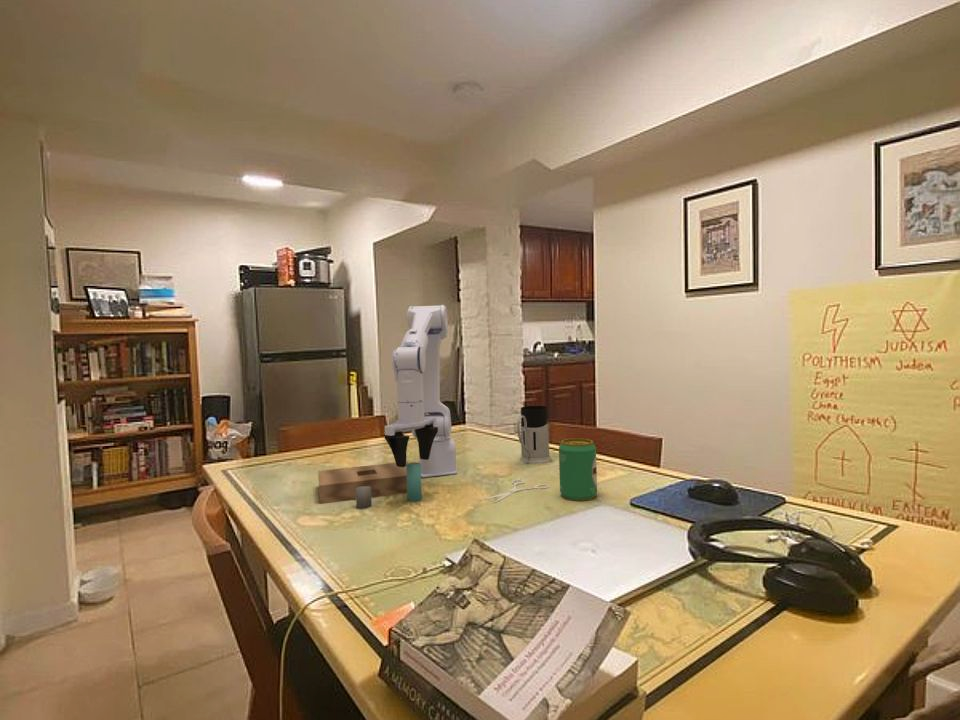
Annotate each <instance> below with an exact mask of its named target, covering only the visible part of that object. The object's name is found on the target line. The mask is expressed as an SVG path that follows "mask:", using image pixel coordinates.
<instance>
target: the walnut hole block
mask: <svg viewBox="0 0 960 720" xmlns="http://www.w3.org/2000/svg"><path fill="white" fill-rule="evenodd" d="M407 463H409V462H408V461H406V464H407ZM317 475H318V478H317V479H318V494H319V504H327V503H335V502H342V501H351V500H356V488H357V487H361V486H370V487H371V498H374V497H375V498H376V497H383V496H384V497H385V496H392V495H393V496H394V495H400V494H407V477H406V467H397V465H396V462H390V463H382V464H370V465H361V466H353V467H344V468H334V469H324V470H318V473H317Z"/></svg>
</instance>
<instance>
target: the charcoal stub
mask: <svg viewBox="0 0 960 720" xmlns="http://www.w3.org/2000/svg"><path fill="white" fill-rule="evenodd" d="M355 503H356V504H355V505H356V509H359V510H365V509H369V508H372V505H373V504H372V497H371V487H370V486H361V487H357V488H356V499H355Z"/></svg>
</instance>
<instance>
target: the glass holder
mask: <svg viewBox="0 0 960 720" xmlns="http://www.w3.org/2000/svg"><path fill="white" fill-rule="evenodd" d="M548 417H549V416H548V406H545V405H544V406H543V405H526V406H521V407H520V416H519V417H518V418H517V422H516V427H517V429H516V431H517V436H518V440H519V444H520V447H521V456H520V459H519V460H520V462H522V463H524V464H531V465H532V464H534V465H535V464H547V463H549V462H551V461H552V458H551V457H550V441H549V440H550V437H549V435H550V434H549V419H548Z"/></svg>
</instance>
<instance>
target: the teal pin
mask: <svg viewBox="0 0 960 720" xmlns="http://www.w3.org/2000/svg"><path fill="white" fill-rule="evenodd" d="M406 477H407V493H406V494H407V498H406V499H407V502H408V503H417V502H421V501H423V494H422V493H423V492H422V491H423V490H422V477H421V463H419V461H418V462H417V461H416V462H414V461H413V462H408V463H407V464H406Z"/></svg>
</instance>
